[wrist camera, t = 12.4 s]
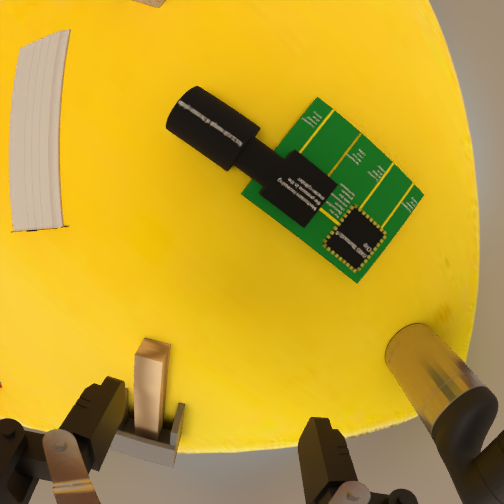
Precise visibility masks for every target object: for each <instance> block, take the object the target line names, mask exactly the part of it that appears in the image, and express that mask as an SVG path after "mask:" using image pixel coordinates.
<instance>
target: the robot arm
mask: <svg viewBox="0 0 504 504" xmlns="http://www.w3.org/2000/svg"><path fill="white" fill-rule="evenodd" d="M385 362H386V364H387V366H388V368H389V369H390V371H391V372H392V374H393V375H394V377H395V379H396V380H397V382H398V383H399V385H400V387H401V388H402V390H403V391H404V393H405V394H406V396H407V398H408V399H409V401H410V402H411V404H412V406H413V407H414V409H415V411H416V412H417V414H418V415H419V417H420V419H421V420H422V422H423V424H424V425H425V427H426V428H427V430H428V432H429V434H430V435H431V437H432V439H433V440H434V442H435V444H436V446H437V449H438V452H439V454H440V456H441V458H442V460H443V462H444V463H445V465H446V467H447V470H448V472H449V474H450V476H451V478H452V481H453V483H454V485H455V487H456V490H457V492H458V494H459V496H460V499H461V501H462V503H463V504H504V430H503V431H502V432H501V433H500V434H499V435H498V437H497V438H495V439H494V440H493V441H492V442H491V443H490V444H489V445H488V446H487V447H486V448H485V449H484V450H483V451H482V452H481V453H480V451H481V448H482V444H483V442H484V439H485V437H486V435H487V433H488V431H489V429H490V427H491V425H492V423H493V421H494V419H495V417H496V414H497V411H498V401H497V398H496V397H495V395H494V394H493V393H492V392H491V391H490V390H489V389H488V388H487V387H486V385H485V384H483V382H482V381H481V380H480V379H479V378H478V377H477V376H476V375H475V374H474V373H473V372H472V371H471V370H470V369H469V368H468V367H467V365H466V364H465V363H464V362H463V360H462V359H461V358H460V357H459V356H458V355H457V354H456V353H455V352H454V351H453V350H452V349H451V348H450V347H449V346H448V345H447V344H446V343H445V342H444V341H443V340H442V339H441V338H440V337H439V336H438V335H436V334H435V333H434V332H433V331H432V330H431V329H430V328H429V327H428V326H426V325H424V324H413V325H410V326H407V327H405V328H403V329H402V330H401V331H399V332H398V333H397V334H396V335H395V336H394V337H393V338H392V340H391V341H390V343H389V345H388V346H387V349H386V352H385ZM125 406H126V404H125V383H124V381H122V380H119V379H115V378H112V377H109V376H107V377H106V378H105V380H104V381H103V383H102V385H101V386H100V385H98V384H95V383H94V384H92V385H91V386H89V387H87V388H86V389H85V390H84V391H83V393H82V394H81V396H80V398H79V399H78V400H77V402H76V404H75V405H74V406H73V408H72V409H71V411H70V412H69V414H68V415H67V417H66V419H65V420H64V422H63V423H62V425H61V426H60V428H59V429H54V430H51V431H49V432H47V433H46V434H39V433H34V432H29V431H25V430H24V429H23V427H22V425H21V424H20V423H19V422H18V421H16V420H14V419H9V418H6V419H2V420H0V504H28V503H29V501H30V499H31V496H32V494H33V492H34V490H35V487H36V485H37V483H38V481H39V479H42V480H48V481H52V482H53V492H54V495H55V499H56V502H57V504H101V503H100V501H99V499H98V496H97V494H96V492H95V489H94V487H93V485H92V483H91V480H90V478H89V475H88V474H89V472H90V470H91V469H94V470H96V471H99V470H100V467H101V465H102V463H103V461H104V458H105V456H106V454H107V452H108V449H109V447H110V445H111V443H112V441H113V438H114V436H115V434H116V432H117V430H118V427H119V425H120V423H121V421H122V419H123V416H124V413H125ZM298 454H299V461H300V467H301V474H302V480H303V486H304V493H305V500H306V504H418V502H417V499H416V497H415V495H414V494H413V493H412V492H410V491H408V490H406V489H397V490H394V491H393V492H392V493H391V494H390V495H386V494H379V493H373V492H370V491H369V489H368V488H367V487H366V486H365V485H364V484H362V483H360V482H358V479H357V476H356V473H355V470H354V466H353V463H352V460H351V457H350V455H349V450H348V448H347V444H346V441H345V438H344V436H343V435H342V434H341V433H340V432H339V430H338V429H332V427H331V424H330V420H329V419H328V418H319V417H311V418H310V419H309V421H308V423H307V425H306V427H305V429H304V431H303V433H302V435H301V437H300V439H299V443H298Z"/></svg>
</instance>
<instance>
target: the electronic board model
mask: <svg viewBox="0 0 504 504" xmlns="http://www.w3.org/2000/svg"><path fill="white" fill-rule="evenodd" d="M166 129H167V130H169V131H170V132H172V133H173V134H175V135H176V136H177V137H179V138H180V139H182V140H183V141H185V142H186V143H188V144H189V145H190V146H192V147H193V148H195V149H196V150H198V151H199V152H201V153H202V154H203V155H205V156H206V157H208V158H209V159H210V160H212V161H213V162H215V163H216V164H217V165H219V166H220V167H222V168H223V169H224V170H226V171H228V170H229V169H230V168H231V167H232V166H233V165H235V166H236V167H237V168H239V169H240V170H241V171H243V172H244V173H245V174H247V175H248V176H250V177H251V178H252V180H251V181H250V183H249V184H248V185H247V187H246V188H245V189H244V191H243V192H242V193H241V194H242V195H243V196H244V197H246V198H247V199H248V200H250V201H251V202H252V203H254V204H255V205H256V206H258V207H259V208H260V209H262V210H263V211H264V212H266V213H267V214H268V215H270V216H271V217H272V218H274V219H275V220H276V221H278V222H279V223H280V224H282V225H283V226H284V227H286V228H287V229H288V230H290V231H291V232H292V233H293V234H295V235H296V236H297V237H299V238H300V239H301V240H303V241H304V242H305V243H306V244H308V245H309V246H310V247H312V248H313V249H314V250H315V251H317V252H318V253H319V254H320V255H322V256H323V257H324V258H326V259H327V260H328V261H329V262H331V263H332V264H333V265H334V266H336V267H337V268H338V269H339V270H341V271H342V272H343V273H344V274H346V275H347V276H348V277H349V278H351V279H352V280H353V281H354V282H356V283H358V282H359V281H360V280H361V278H362V277H363V276H364V275H365V273H366V272H367V271H368V270H369V268H370V267H371V266H372V265H373V263H374V262H375V261H376V260H377V258H378V257H379V256H380V255H381V253H382V252H383V251H384V249H385V248H386V247H387V245H388V244H389V243H390V241H391V240H392V239H393V237H394V236H395V235H396V233H397V232H398V231H399V229H400V228H401V227H402V225H403V224H404V223H405V221H406V220H407V218H408V217H409V216H410V214H411V213H412V211H413V210H414V209H415V207H416V206H417V204H418V203H419V201H420V200H421V198H422V197H423V196H424V194H423V193H422V192H421V191H420V190H419V189H418V188H417V187H416V186H415V185H414V183H413V182H412V181H411V180H410V179H409V178H408V177H407V176H406V175H405V174H404V173H403V172H402V171H401V170H400V169H399V168H398V167H397V166H396V165H395V164H394V163H393V162H392V161H391V160H390V159H389V158H388V157H387V156H386V155H385V154H384V153H383V152H382V151H380V150H379V149H378V148H377V147H376V146H375V145H374V144H373V143H372V142H371V141H370V140H369V139H367V138H366V137H365V136H364V135H363V134H362V133H361V132H360V131H358V130H357V129H356V128H355V127H354V126H353V125H352V124H350V123H349V122H348V121H347V120H346V119H344V118H343V117H342V116H341V115H340V114H338V113H337V112H336V111H335V110H334V109H332V108H331V107H330V106H328V105H327V104H326V103H325V102H323V101H322V100H321V99H320V98H318V97H317V98H316V99H315V100H314V102H313V103H312V104H311V105H310V107H309V108H308V109H307V110H306V111H305V113H304V114H303V115H302V116H301V118H300V119H299V120H298V121H297V123H296V124H295V125H294V126H293V128H292V129H291V130H290V131H289V133H288V134H287V135H286V136H285V138H284V139H283V140H282V141H281V143H280V144H279V145H278V147H277V148H276V149H275V150H274V151H273V150H271V149H270V148H269V147H267V146H266V145H265V144H263V143H262V142H261V141H259V140H258V139H257V138H255V136H256V135H257V133H258V131H259V130H260V127H259V126H257V125H256V124H254V123H253V122H252V121H250V120H249V119H247V118H246V117H244V116H243V115H242V114H240V113H239V112H237V111H236V110H234V109H233V108H231V107H230V106H228V105H227V104H225V103H224V102H222V101H221V100H219V99H218V98H216V97H215V96H213V95H212V94H210V93H208V92H207V91H205V90H204V89H202V88H201V87H199V86H195V87H193V88H191V89H190V90H189V91H187V92H186V93H185V94H184V95H183V96H182V97H181V98H180V99H179V101H178V102H177V103H176V105H175V106H174V108H173V109H172V111H171V113H170V115H169V117H168V119H167V122H166Z"/></svg>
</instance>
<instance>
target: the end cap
mask: <svg viewBox="0 0 504 504" xmlns="http://www.w3.org/2000/svg"><path fill="white" fill-rule="evenodd" d="M125 404H126V406H125V413H124V416H123V419H122V421H121V423H120V425H119V427H118V430H117V432H116V434H115V436H114V438H113V441H112V443H111V445H110V446H111V450H113V451H116V452H119V453H122V454H126V455H128V456H132V457H135V458H138V459H142V460H145V461H149V462H153V463H156V464H160V465H164V466H168V467H172V468H173V467H174V463H175V458H176V454H177V450H178V445H179V441H180V437H181V430H182V422H183V414H184V407H185V404H182V403H179V405H178V408H177V412H176V415H175V419H174V422H173V426H172V430H168V429H164V428H161V431H160V435H159V438H158V441H155V440H151V439H148V438H144V437H141V436H137V435H135V420H132V419H129V406H128V389H127V388H125Z"/></svg>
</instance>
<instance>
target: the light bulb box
mask: <svg viewBox="0 0 504 504" xmlns="http://www.w3.org/2000/svg"><path fill="white" fill-rule="evenodd" d="M134 1H138V2H141V3H144V4H147V5H150V6H153V7H157V8H159V7H160V6H161V5H162V4H163V3H164V1H165V0H134Z"/></svg>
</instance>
